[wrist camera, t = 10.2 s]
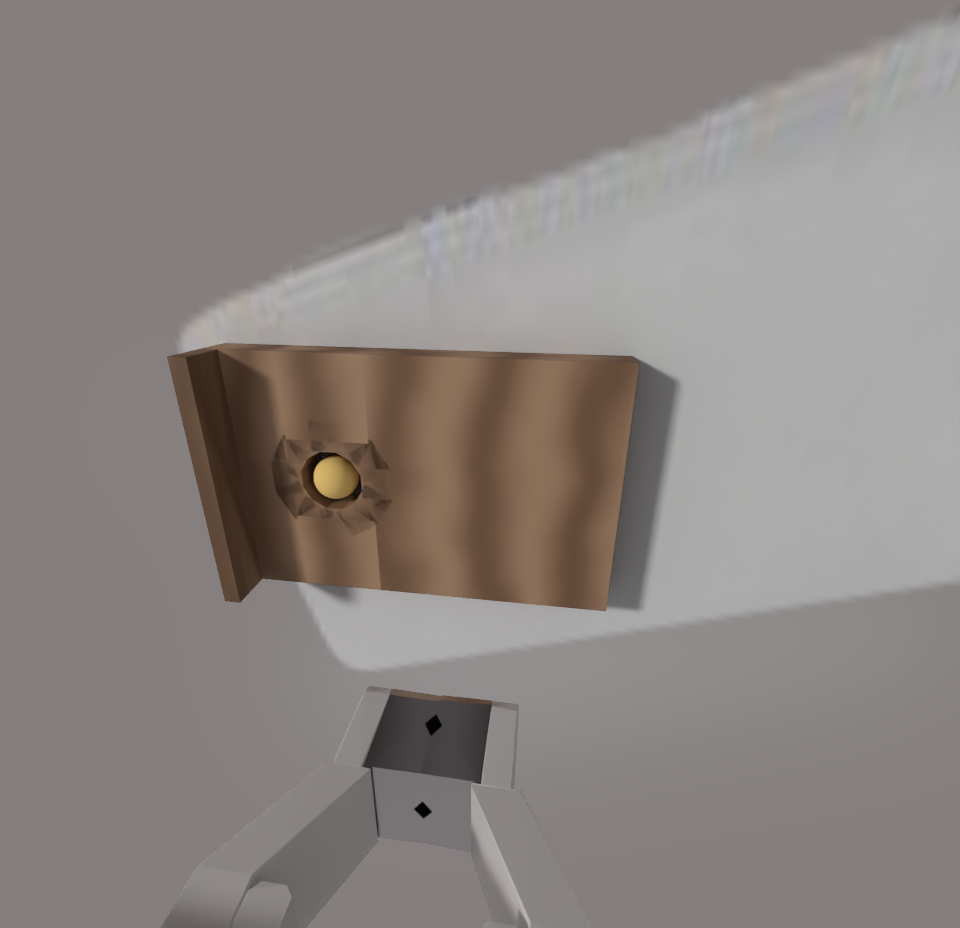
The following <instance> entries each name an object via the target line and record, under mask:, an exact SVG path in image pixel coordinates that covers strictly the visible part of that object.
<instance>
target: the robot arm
mask: <svg viewBox="0 0 960 928" xmlns="http://www.w3.org/2000/svg"><path fill="white" fill-rule="evenodd" d="M518 712H519V707H518V704H511V703H503V702H495V701H493V702H492V701H490V700H480V699H471V698H461V697H452V696H437V695H430V694H424V693H416V692H410V691H404V690H397V689H389V688H381V687H373V686H369V687H368V688H367V689H366V691H365V692H364V693H363V695H362V698H361V700H360V702H359V705H358V707H357V709H356V712H355V714H354V716H353V718H352V720H351V723H350V725H349V727H348V729H347V732H346V734H345V736H344V738H343V741H342V743H341V745H340V748H339V750H338V752H337V754H336V757H335V759H334V761H333V763H330V762H325V763H323V764H322V765H321V766H320V767H318V768H317V769H316V770H315V771H313V772H312V773H311V774H310V775H309V776H307V777H306V778H305V779H304V780H302V781H301V782H300V783H299V784H298V785H296V786H295V787H294V788H293V789H292V790H290V791H289V792H288V793H286V794H285V795H284V796H283V797H281V798H280V799H279V800H278V801H277V802H275V803H274V804H273V805H272V806H270V807H269V808H268V809H267V810H265V811H264V812H263V813H262V814H261V815H259V816H258V817H257V818H256V819H255V820H253V821H252V822H251V823H249V824H248V825H247V826H246V827H245V828H243V829H242V830H241V831H240V832H238V833H237V834H236V835H235V836H234V837H232V838H231V839H230V840H229V841H227V842H226V843H225V844H224V845H223V846H221V847H220V848H219V849H218V850H216V851H215V852H214V853H213V854H211V855H210V856H209V857H208V858H207V859H205V860H204V861H203V862H202V863H200V864H199V865H198V866H197V867H196V869H195V871H194V872H193V874H192V876H191V878H190V879H189V881H188V883H187V884H186V886H185V888H184V889H183V891H182V893H181V894H180V896H179V898H178V899H177V901H176V903H175V904H174V906H173V908H172V910H171V911H170V913H169V915H168V916H167V918H166V920H165V921H164V923H163V925H162V927H161V928H306V927H307V926H308V925H309V924H310V922H311V921H312V920H313V919H314V918H315V916H316V915H317V914H318V913H319V912H320V910H321V909H322V908H323V907H324V906H325V904H326V903H327V902H328V901H329V900H330V898H331V897H332V896H333V895H334V894H335V892H336V891H337V890H338V889H339V887H340V886H341V885H342V884H343V883H344V882H345V880H346V879H347V878H348V877H349V876H350V874H351V873H352V872H353V871H354V870H355V868H356V867H357V866H358V865H359V864H360V862H361V861H362V860H363V859H364V858H365V856H366V855H367V854H368V853H369V852H370V850H371V849H372V848H373V847H374V846H375V844H376V843H377V842H378V837H379V838H386V839H394V840H403V841H410V842H418V843H425V844H431V845H436V846H441V847H446V848H451V849H456V850H462V851H467V852H471V857H472V860H473V863H474V866H475V869H476V872H477V875H478V879H479V881H480V884H481V888H482V891H483V894H484V897H485V900H486V903H487V906H488V909H489V912H490V915H491V918H492V922H489V921H488V922H487V923H486V924H485V925H484V926H483V927H482V928H591V927H590V925H589V923H588V921H587V919H586V917H585V915H584V913H583V911H582V909H581V907H580V905H579V903H578V901H577V899H576V897H575V895H574V893H573V892H572V889H571V887H570V885H569V883H568V881H567V879H566V878H565V875H564V873H563V871H562V870H561V868H560V866H559V864H558V862H557V860H556V858H555V856H554V854H553V852H552V850H551V848H550V846H549V844H548V842H547V840H546V838H545V836H544V834H543V832H542V830H541V828H540V827H539V824H538V822H537V820H536V819H535V816H534V814H533V812H532V810H531V809H530V807H529V805H528V803H527V801H526V799H525V797H524V795H523V793H522V791H521V790H518V789H514V780H515V764H516V746H517V729H518Z"/></svg>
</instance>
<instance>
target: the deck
mask: <svg viewBox="0 0 960 928" xmlns="http://www.w3.org/2000/svg"><path fill="white" fill-rule="evenodd" d="M167 358H168V362H169V366H170V370H171V375H172V379H173V383H174V388H175V392H176V396H177V400H178V404H179V409H180V413H181V417H182V421H183V426H184V430H185V434H186V438H187V442H188V447H189V451H190V455H191V459H192V464H193V467H194V472H195V476H196V480H197V484H198V488H199V493H200V497H201V501H202V506H203V510H204V514H205V518H206V522H207V527H208V531H209V535H210V539H211V543H212V548H213V552H214V556H215V561H216V564H217V569H218V573H219V577H220V581H221V586H222V590H223V594H224V598H225V601H230V602H239V603H240V602H241V601H242V600H243V599H244V598H245V597H246V596H247V595H248V594H249V592H250V591H251V590H252V589H253V588H254V587H255V586H256V585H257V584H258V583H259V582H260V581H261V579H262V578H263V579H273V580H284V581H294V582H305V583H315V584H326V585H336V586H347V587H357V588H368V589H378V590H389V591H399V592H410V593H420V594H431V595H441V596H452V597H462V598H473V599H483V600H494V601H504V602H515V603H525V604H536V605H546V606H557V607H567V608H578V609H588V610H599V611H606V606H607V599H608V592H609V584H610V577H611V569H612V562H613V555H614V547H615V540H616V533H617V525H618V518H619V510H620V503H621V496H622V488H623V481H624V473H625V466H626V459H627V451H628V444H629V437H630V429H631V422H632V414H633V407H634V400H635V392H636V385H637V377H638V370H639V363H638V362H637V361H636V359H635V358H634V357H633V356H606V355H575V354H544V353H512V352H481V351H449V350H418V349H387V348H355V347H324V346H293V345H261V344H230V343H223V344H219V345H215V346H211V347H206V348H202V349H198V350H194V351H189V352H185V353H181V354H177V355H173V356H168V357H167ZM320 452H331V453H337V454H339V455H341V456H342V457H344V458H346V459H347V460H349V461H351V462H352V464H353V465H354V467H355V468H356V470H357V471H358V473H359V474H360V476H361V487H362V491H361V492H359V493H357V494H350V495H349V496H347V497H344V498H340V499H332V498H328V497H326V496H324V495H323V494H321V493H320V492H319V491H318V489H317V488H316V486H315V483H314V471H315V468H316V466H317V457H318V455H319V453H320Z"/></svg>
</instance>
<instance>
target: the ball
mask: <svg viewBox="0 0 960 928" xmlns="http://www.w3.org/2000/svg"><path fill="white" fill-rule="evenodd" d="M314 483H315V486H316V488H317V489H318V491H319V492H320V493H321V494H323V495H324V496H326V497H328V498H332V499H340V498H344V497H347V496H349V495H350V494H351V493H352V492H353V491H354V490H355V489H356V487H357V486H358V483H359V473H358V471H357V470H356V468H355V467H354V465H353V464H352V462H351V461H349V460H347V459H346V458H344V457H342V456H341V455H331V456H328V457H326V458H324V459H322V460H321V461H320V462H319V463H318V465H317V466H316V468H315V471H314Z"/></svg>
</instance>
